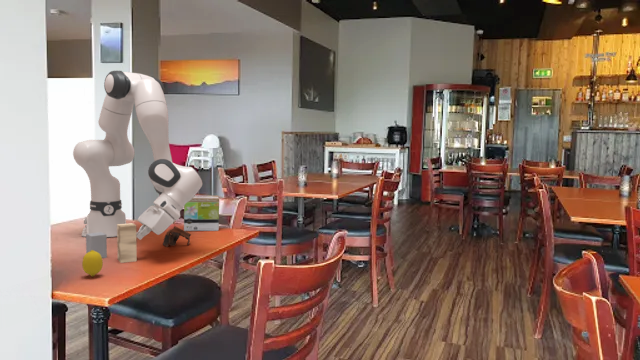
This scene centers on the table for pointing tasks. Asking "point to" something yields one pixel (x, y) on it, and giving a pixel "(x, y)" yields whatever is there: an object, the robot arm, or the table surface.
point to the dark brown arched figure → (175, 236)
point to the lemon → (92, 263)
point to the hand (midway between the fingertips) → (137, 237)
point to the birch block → (126, 242)
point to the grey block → (97, 243)
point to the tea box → (202, 213)
